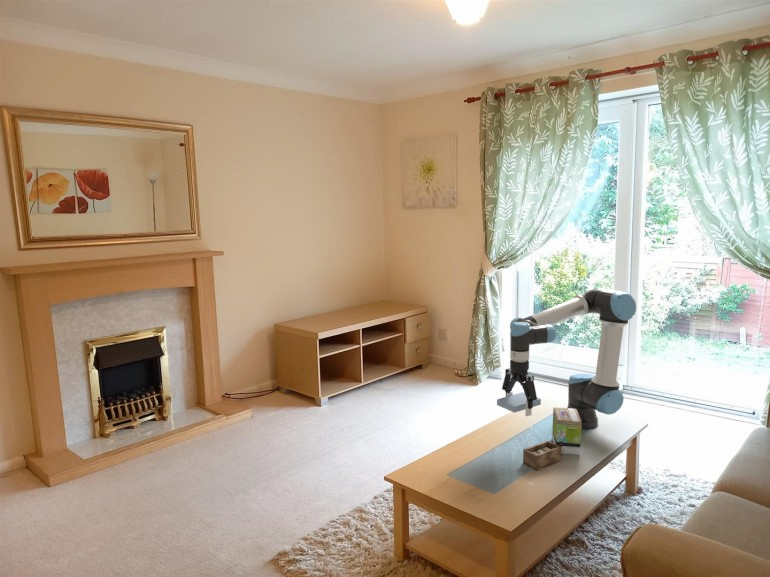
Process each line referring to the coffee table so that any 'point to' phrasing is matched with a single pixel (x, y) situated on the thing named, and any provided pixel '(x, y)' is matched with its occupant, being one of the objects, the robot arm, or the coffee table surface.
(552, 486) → the coffee table surface
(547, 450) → the caddy
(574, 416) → the tea box
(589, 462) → the coffee table surface
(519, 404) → the lid
